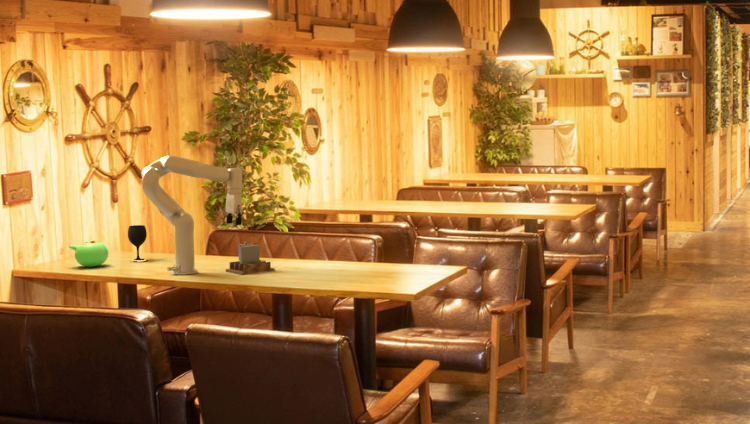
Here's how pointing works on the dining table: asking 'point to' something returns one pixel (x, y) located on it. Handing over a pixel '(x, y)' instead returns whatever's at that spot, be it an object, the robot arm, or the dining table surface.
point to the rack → (249, 267)
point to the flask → (244, 245)
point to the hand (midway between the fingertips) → (234, 224)
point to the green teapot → (90, 253)
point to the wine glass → (137, 237)
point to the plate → (249, 254)
